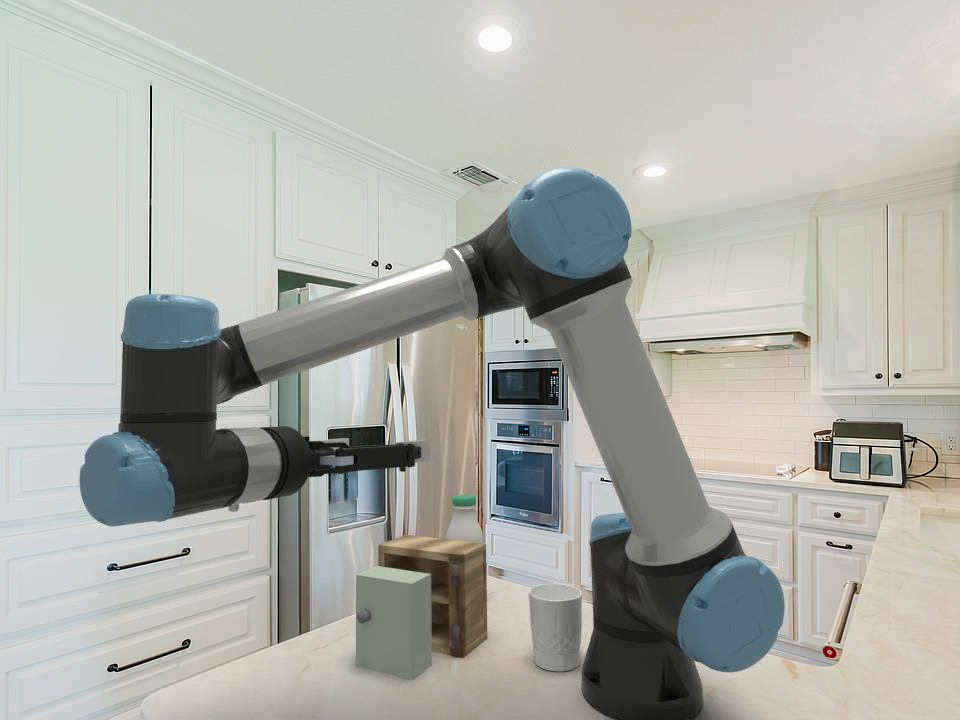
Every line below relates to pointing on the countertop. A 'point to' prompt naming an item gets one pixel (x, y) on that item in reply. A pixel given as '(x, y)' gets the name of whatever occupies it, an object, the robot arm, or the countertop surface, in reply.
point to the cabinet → (447, 587)
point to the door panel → (393, 621)
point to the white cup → (556, 626)
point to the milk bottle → (464, 520)
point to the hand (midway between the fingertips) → (385, 448)
